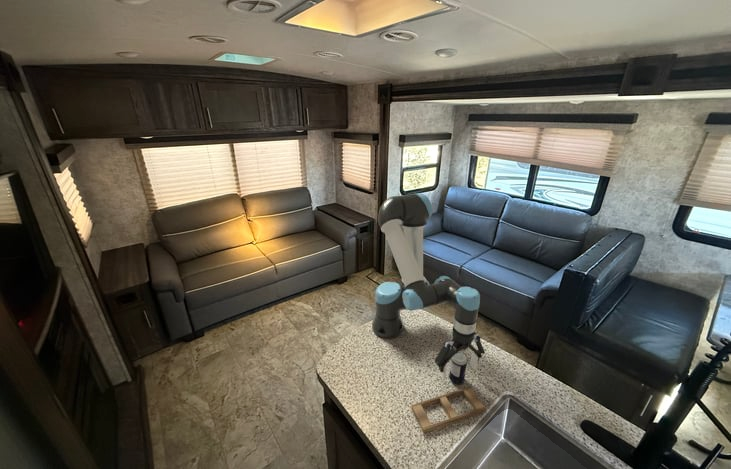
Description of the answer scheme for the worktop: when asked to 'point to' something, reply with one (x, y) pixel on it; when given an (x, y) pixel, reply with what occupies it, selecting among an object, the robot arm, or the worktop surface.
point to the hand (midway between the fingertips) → (458, 372)
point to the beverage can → (458, 368)
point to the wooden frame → (447, 409)
